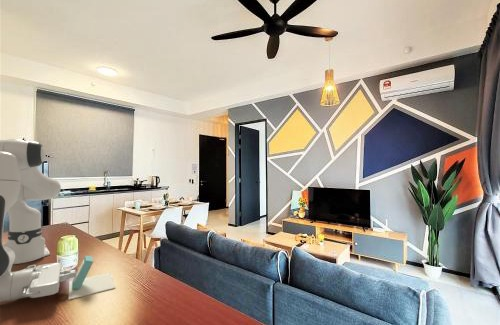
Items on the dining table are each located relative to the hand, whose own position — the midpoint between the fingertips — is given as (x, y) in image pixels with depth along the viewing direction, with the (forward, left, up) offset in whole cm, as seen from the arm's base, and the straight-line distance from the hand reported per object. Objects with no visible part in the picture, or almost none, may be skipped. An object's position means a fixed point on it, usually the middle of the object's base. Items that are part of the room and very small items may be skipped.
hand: (76, 273), depth 89 cm
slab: (0, 0, -5) cm, 5 cm away
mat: (+1, +5, -6) cm, 8 cm away
